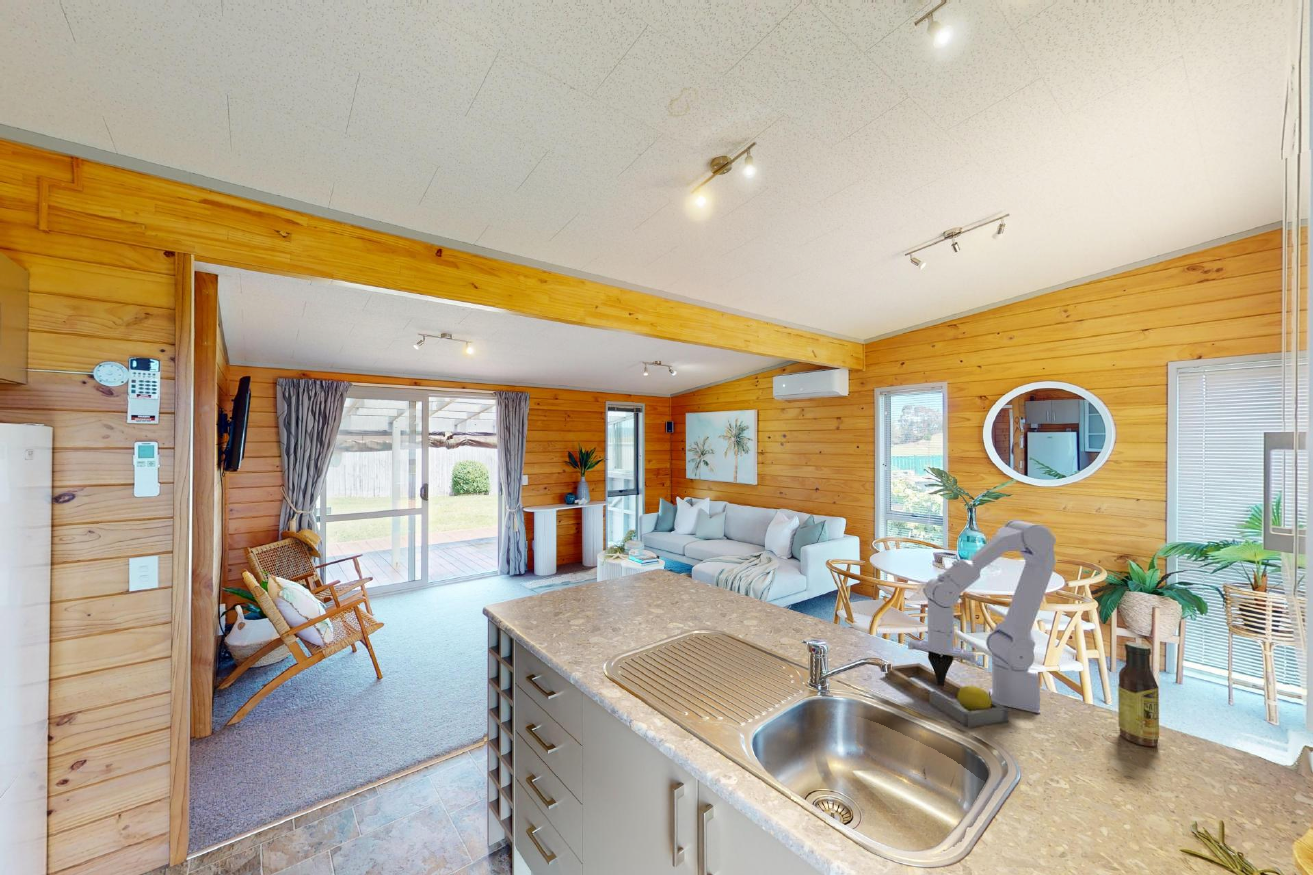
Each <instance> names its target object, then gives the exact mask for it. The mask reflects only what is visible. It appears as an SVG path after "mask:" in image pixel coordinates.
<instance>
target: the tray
mask: <svg viewBox="0 0 1313 875" xmlns="http://www.w3.org/2000/svg"><path fill="white" fill-rule="evenodd" d="M963 687H964V686H962V687H961V688H963ZM929 705H930V706H932V707H933V708H935V709H937V710H938V711H940V712H941V713H943V715H946V716H948V717H949V718H951V719H952V720H955V721H956V722H957V723H958V724H960V725H962V726H963V727H965V728H967V729H973V728H979V727H984V726H985V725H986V726H990V725H991V726H992V725H998V724H997V723H999V724H1004V723H1008V721H1009V716H1008V712H1009V711H1008V710H1009V709H1008V708H1007V706H1003V705H1000V704H998V703H996V702H994V701H992V700H991V707H990V708H989V709H983V710H976V711H968V710H966V709H965V708H963V707H962V706H961V704H960V703H959V701H958V698H951V699H949V698H948V697H946V696H944V695H942V694H941V693H939V692H938V691H936V690H930V692H929Z"/></svg>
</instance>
